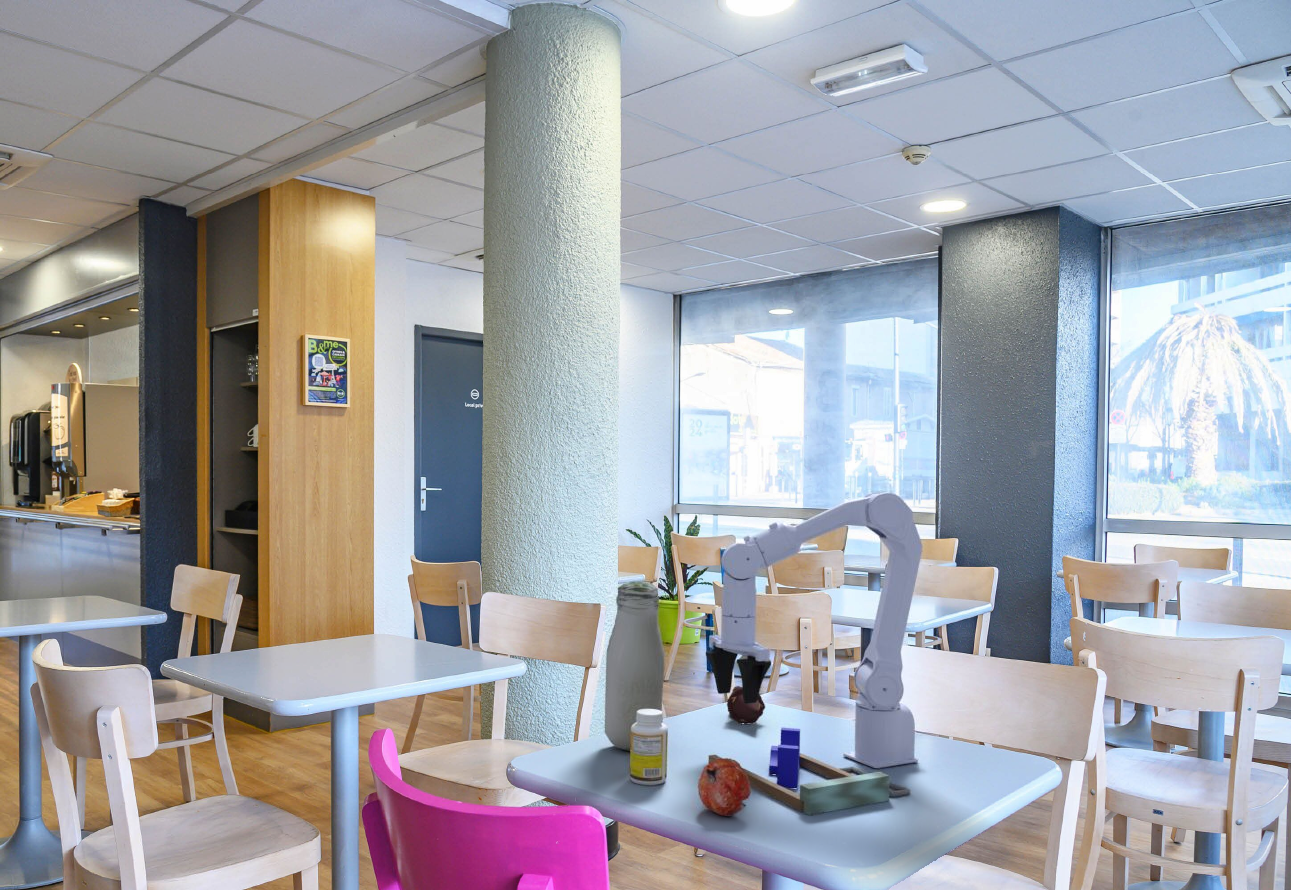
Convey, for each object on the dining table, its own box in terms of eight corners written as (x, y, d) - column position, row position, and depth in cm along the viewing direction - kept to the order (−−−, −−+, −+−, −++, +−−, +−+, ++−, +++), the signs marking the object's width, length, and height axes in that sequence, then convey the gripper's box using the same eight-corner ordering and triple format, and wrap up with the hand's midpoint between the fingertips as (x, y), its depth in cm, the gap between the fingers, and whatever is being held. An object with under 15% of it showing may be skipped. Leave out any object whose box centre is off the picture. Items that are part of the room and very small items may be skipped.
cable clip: (771, 764, 148) (771, 726, 148) (799, 766, 147) (800, 728, 148) (766, 787, 136) (767, 746, 137) (797, 789, 135) (798, 748, 136)
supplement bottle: (645, 772, 141) (647, 705, 142) (674, 780, 138) (675, 711, 138) (621, 780, 137) (623, 711, 138) (650, 789, 133) (652, 717, 134)
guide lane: (781, 754, 153) (782, 733, 153) (889, 800, 131) (889, 775, 132) (708, 764, 146) (708, 742, 146) (808, 815, 124) (809, 788, 124)
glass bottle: (610, 758, 148) (615, 584, 150) (598, 741, 158) (603, 578, 160) (669, 755, 150) (673, 584, 152) (653, 739, 160) (658, 578, 162)
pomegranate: (717, 816, 129) (672, 781, 125) (746, 772, 131) (703, 736, 127) (747, 840, 123) (701, 803, 119) (778, 793, 125) (734, 756, 121)
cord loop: (852, 770, 145) (852, 765, 145) (911, 794, 134) (911, 789, 134) (834, 772, 144) (834, 768, 144) (892, 797, 133) (892, 792, 133)
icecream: (780, 697, 168) (755, 687, 183) (742, 687, 167) (720, 677, 181) (771, 735, 167) (747, 722, 181) (733, 725, 166) (712, 713, 180)
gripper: (695, 610, 158) (693, 690, 157) (744, 622, 145) (742, 709, 144) (729, 609, 161) (727, 687, 160) (780, 620, 148) (778, 705, 148)
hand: (736, 697), depth 153 cm, fingers open, 7 cm apart
